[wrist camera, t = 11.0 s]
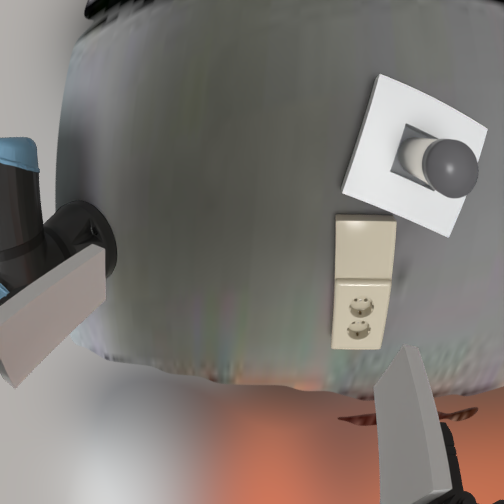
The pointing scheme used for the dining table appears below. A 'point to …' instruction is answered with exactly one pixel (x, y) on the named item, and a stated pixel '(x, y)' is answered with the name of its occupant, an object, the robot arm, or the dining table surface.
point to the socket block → (387, 146)
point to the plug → (440, 164)
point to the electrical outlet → (362, 279)
